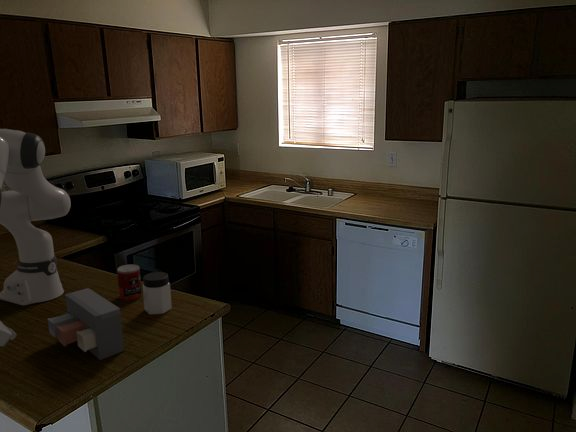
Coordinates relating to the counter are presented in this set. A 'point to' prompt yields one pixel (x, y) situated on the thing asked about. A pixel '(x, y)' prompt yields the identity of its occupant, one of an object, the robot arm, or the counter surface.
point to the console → (98, 320)
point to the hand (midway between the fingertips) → (13, 335)
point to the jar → (156, 293)
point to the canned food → (129, 282)
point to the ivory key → (86, 339)
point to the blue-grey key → (59, 322)
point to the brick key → (69, 332)
